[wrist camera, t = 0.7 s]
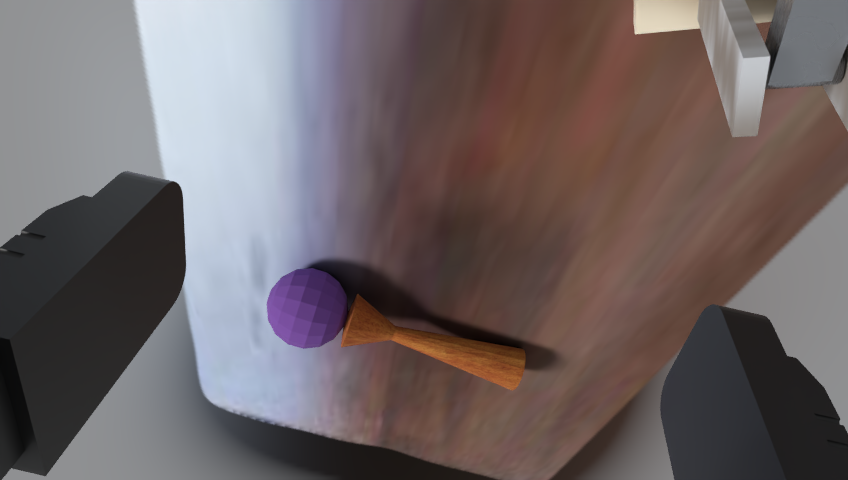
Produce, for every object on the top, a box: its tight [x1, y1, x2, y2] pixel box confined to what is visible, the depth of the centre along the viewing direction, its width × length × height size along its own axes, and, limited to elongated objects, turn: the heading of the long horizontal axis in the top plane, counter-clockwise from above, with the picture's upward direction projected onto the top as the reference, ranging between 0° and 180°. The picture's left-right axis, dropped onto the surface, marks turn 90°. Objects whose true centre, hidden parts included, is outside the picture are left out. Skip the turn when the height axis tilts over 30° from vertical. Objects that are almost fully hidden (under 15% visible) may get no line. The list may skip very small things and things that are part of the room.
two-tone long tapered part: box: [267, 268, 526, 390], centre depth 49 cm, size 6×6×20 cm
